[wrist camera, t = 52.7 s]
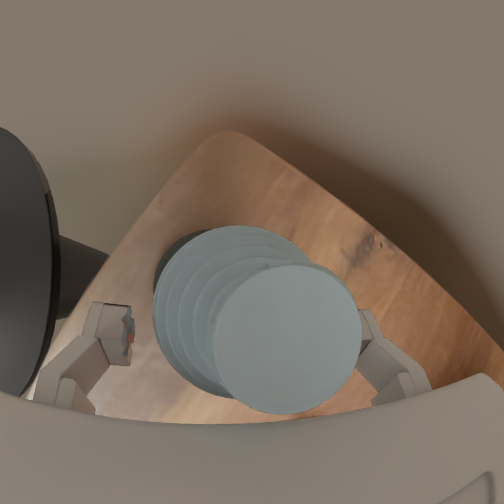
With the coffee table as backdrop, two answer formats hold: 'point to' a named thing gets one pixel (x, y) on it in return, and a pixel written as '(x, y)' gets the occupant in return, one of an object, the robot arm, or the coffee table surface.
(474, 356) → the coffee table surface
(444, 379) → the coffee table surface
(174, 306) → the bottle
